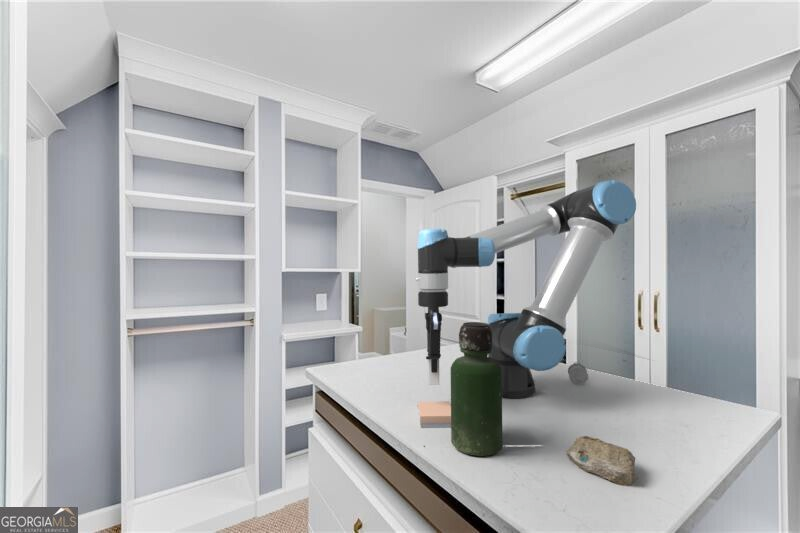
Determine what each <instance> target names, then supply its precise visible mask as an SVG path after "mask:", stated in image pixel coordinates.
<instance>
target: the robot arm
mask: <svg viewBox="0 0 800 533" xmlns="http://www.w3.org/2000/svg"><path fill="white" fill-rule="evenodd" d="M636 210H637V201H636V197H635V195H634V192H633V191H632V189H631V188H630V187H629V186H628V185H627V184H626V183H624V182H622V181H620V180H616V179H615V180H613V179H609V180H605V181H600V182H597V184H594V185H589V186H588V187H585V188H582V189H579V190H576V191H573V192H571V193H569V194H567V195H564V196H562V197H561V198H560V199H558V200H555V201H553V202H551V203H548V204H546V205H543V206H542V207H541V208H540V209H539V211H538V210H537V211H535V212H533V213H531V214H527V215H525V216H522V217H519V218H516V219H512V220H510V221H508V222H504V223H501V224H499V225H497V226H493V227H490V228H487V229H485V230H482V231H480V232H476V233H474V234H470V235H468V236H466V237H452V236H451V237H450V236H449V234H448V230H446V229H445V228H425V229H422V230H420V231H419V233H418V236H417V238H418V239H417V248H416V249H417V270H418V271H417V273H418V277H416V278H415V281H416V282H417V284H418V286H417V287H418V290H419V291H418V292H417V293H418V294H417V300H418V301H417V304H418V306H419V307H423V308H427V312H425V313H424V319H425V328H426V339H427V340H426V342H427V345H426V346H427V350H426V352H427V356H425V359H426V360H427V373H428V374H427V380H428V381H427V383H428V385H429V386H440V359H441V357H442V354H441V337H442V336H441V331H442V321H443V315H442V313H441V312H440V308H445V307H447V306H448V305H449V292H448V291H447V290H448V289H449V267H450V268H452V269H455V268H484V267H490V266H492V265H493V263H494V262H495V257H496V254H497V253H500V252H503V251H506V250H508V249H511V248H514V247H517V246H519V245H522V244H525V243H528V242H530V241H533V240H536V239H539V238H541V237H545V236H547V235H549V236H552V237H553V236H557V235H559V234H560V235H561V234H563V233H567V235H566V237H565V239H564V241H563V243H562V245H561V247H560V249H559V250H558V253H557V255H556V257H555V258H554V261H553V263H552V265H551V267H550V268H549V271H548V273H547V274H546V276H545V279H544V281H543V283H542V285H541V287H540V288H539V290H538V293H537V294H536V296H535V298H534V300H533V302H532V303H531V305H530V306H526V307H524V308H523V309H522V310H521V311H520V312H510V313H509V312H507V313H491V314H489V315H488V317H487V324H488V326H490V328H491V331H492V349H491V353H489V354H488V356H487V357H489V358H492V359H494V360H496V361H497V363H498V364H499V365H500V366H501V369H502V398H506V399H525V398H530V397H532V396H534V395H535V394H536V384H535V380H534V377H533V374H532V371H536V372H545V371H548V370H551V369H553V368H555V367H557V366H558V365H559V364H561V362H562V361H563V359H564V357H565V354H566V350H567V348H566V347H567V345H566V340H565V337H564V335H565V333H566V331H567V327H566V325H565V319H566V317H567V314H568V312H569V311H570V308H571V307H572V304H573V302H574V300H575V299H576V297H577V294H578V292H579V290H580V288H581V286H582V284H583V282H584V280H586V279H585V278H586V277H587V274H588V273H589V271H590V269H591V267H592V264H594V263H593V262H594V260H595V259H596V256H597V254H598V252H599V251H600V249H601V246H602V244H603V242H606V241H608V240H609V241H610V240H612V239H613V236H614V235H615V233H616V231H617V229H618V227H619V225H623V224H625V223H627V222H629V221H631V219H633V217H634V215H635V214H636Z"/></svg>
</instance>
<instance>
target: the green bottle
mask: <svg viewBox="0 0 800 533" xmlns="http://www.w3.org/2000/svg"><path fill="white" fill-rule="evenodd" d="M458 341H459V342H458V345H459V350H460V352H461V353H462V354H463V356H460V357H457V358H456V359H454V361H453V362H452V364H451V365H450V404H451V428H450V439H451V441H450V442H451V444H452V445H453V447H454V448H455V449H456V450H458V451H460V452H462V453H464V454H467V455H469V456H477V457H486V456H493V455H496V454H497V453H498V452H500V451H501V450H502V449H503V397H502V369H501V366H500V365H499V364H498V363H497V361H496V360H494V359H492V358H489V357H488V354H489V353H491V349H492V331H491V328H490V326H488V322H481V321H480V322H479V321H473V322H472V321H471V322H469V321H468V322H467V321H466V322H463V324H462V325H461V326H460V328H459V333H458Z"/></svg>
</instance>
